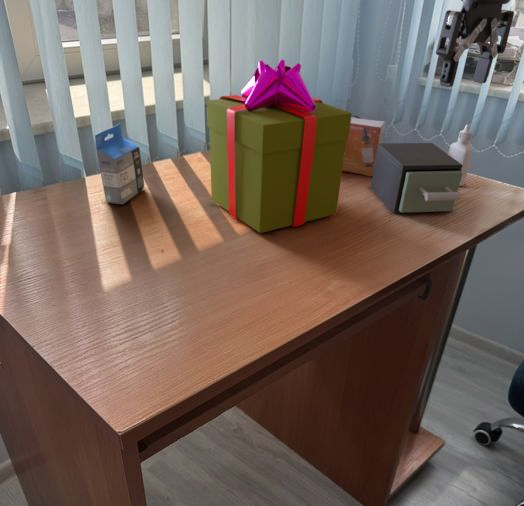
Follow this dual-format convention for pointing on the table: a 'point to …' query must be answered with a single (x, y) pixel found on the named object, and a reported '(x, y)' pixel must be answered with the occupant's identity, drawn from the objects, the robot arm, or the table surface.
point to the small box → (362, 145)
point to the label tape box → (119, 166)
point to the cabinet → (405, 168)
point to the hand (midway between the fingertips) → (463, 84)
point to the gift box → (276, 151)
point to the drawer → (430, 190)
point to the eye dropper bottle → (462, 151)
